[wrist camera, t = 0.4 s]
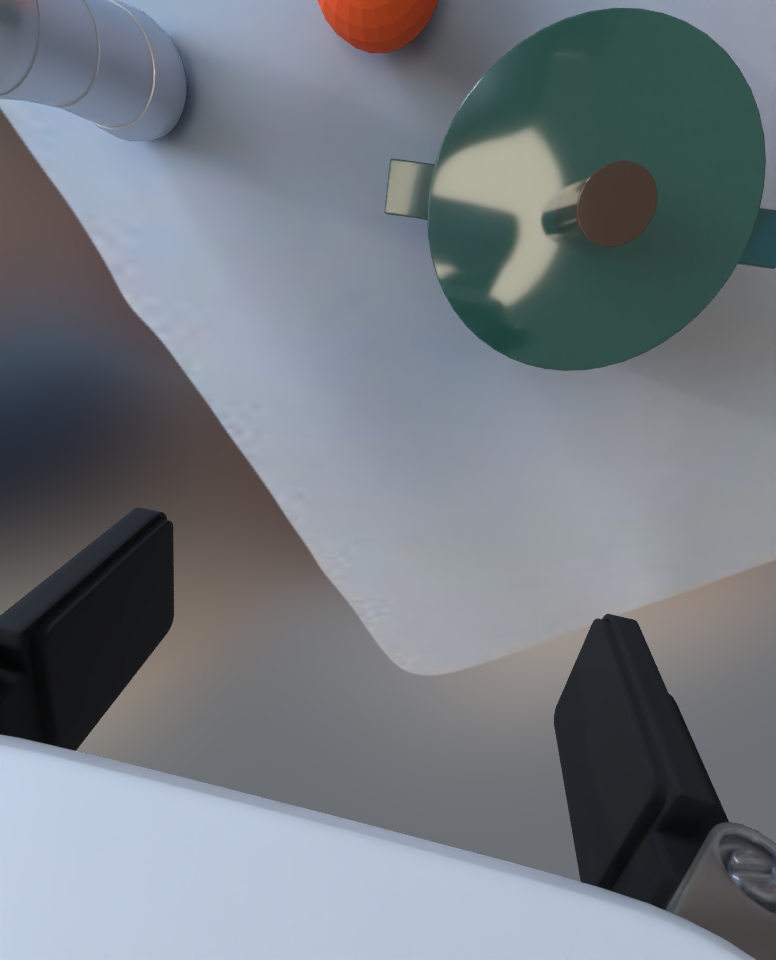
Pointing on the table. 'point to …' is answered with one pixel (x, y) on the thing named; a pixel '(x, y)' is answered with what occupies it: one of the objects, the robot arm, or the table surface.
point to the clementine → (378, 21)
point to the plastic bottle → (93, 64)
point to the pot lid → (596, 189)
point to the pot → (410, 195)
